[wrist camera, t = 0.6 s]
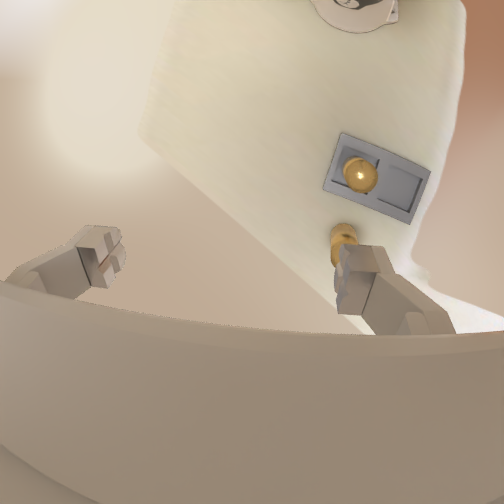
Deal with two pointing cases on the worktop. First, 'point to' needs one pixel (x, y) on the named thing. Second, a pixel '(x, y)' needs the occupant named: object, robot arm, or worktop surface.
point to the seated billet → (359, 174)
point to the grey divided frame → (379, 179)
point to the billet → (341, 240)
